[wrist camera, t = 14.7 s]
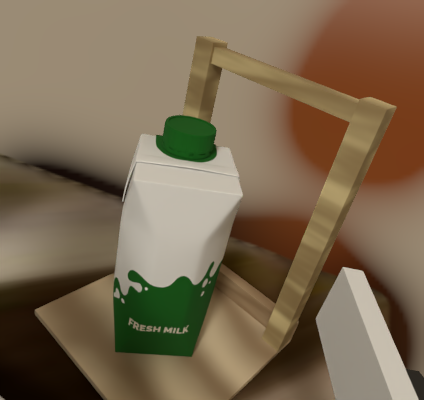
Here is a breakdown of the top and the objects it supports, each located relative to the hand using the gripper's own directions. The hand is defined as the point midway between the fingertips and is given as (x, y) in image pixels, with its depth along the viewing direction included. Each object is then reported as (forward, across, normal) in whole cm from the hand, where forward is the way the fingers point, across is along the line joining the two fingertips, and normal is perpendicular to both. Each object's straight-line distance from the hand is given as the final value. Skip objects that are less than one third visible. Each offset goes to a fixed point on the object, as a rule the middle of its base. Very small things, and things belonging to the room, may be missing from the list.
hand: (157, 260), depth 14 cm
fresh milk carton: (+16, +1, -22) cm, 27 cm away
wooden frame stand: (+16, +2, -22) cm, 27 cm away
